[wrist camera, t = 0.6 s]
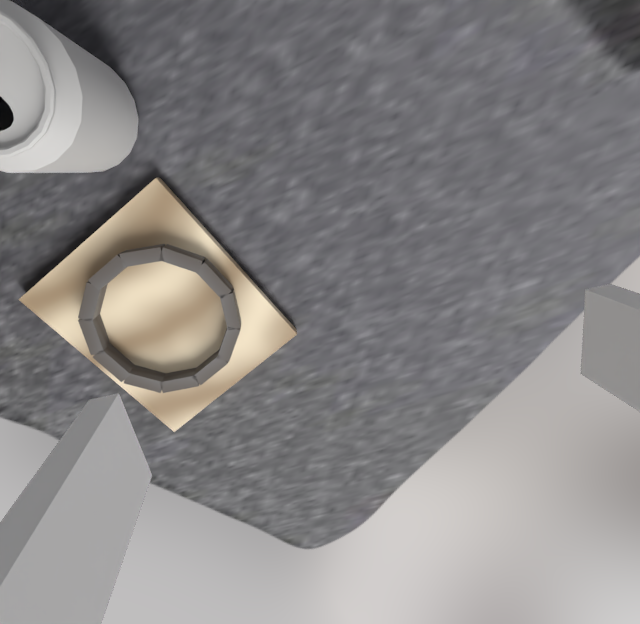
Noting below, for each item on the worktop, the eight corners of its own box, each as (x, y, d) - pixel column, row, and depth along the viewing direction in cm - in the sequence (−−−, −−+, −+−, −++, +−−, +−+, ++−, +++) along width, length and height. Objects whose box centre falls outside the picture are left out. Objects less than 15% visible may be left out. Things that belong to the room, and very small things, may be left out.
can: (17, 147, 29) (-141, 131, 18) (38, 33, 27) (-123, -66, 16) (127, 188, 31) (47, 198, 19) (154, 84, 29) (84, 28, 17)
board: (27, 295, 32) (6, 305, 30) (159, 177, 31) (150, 178, 28) (176, 424, 37) (170, 442, 35) (296, 329, 36) (298, 340, 33)
